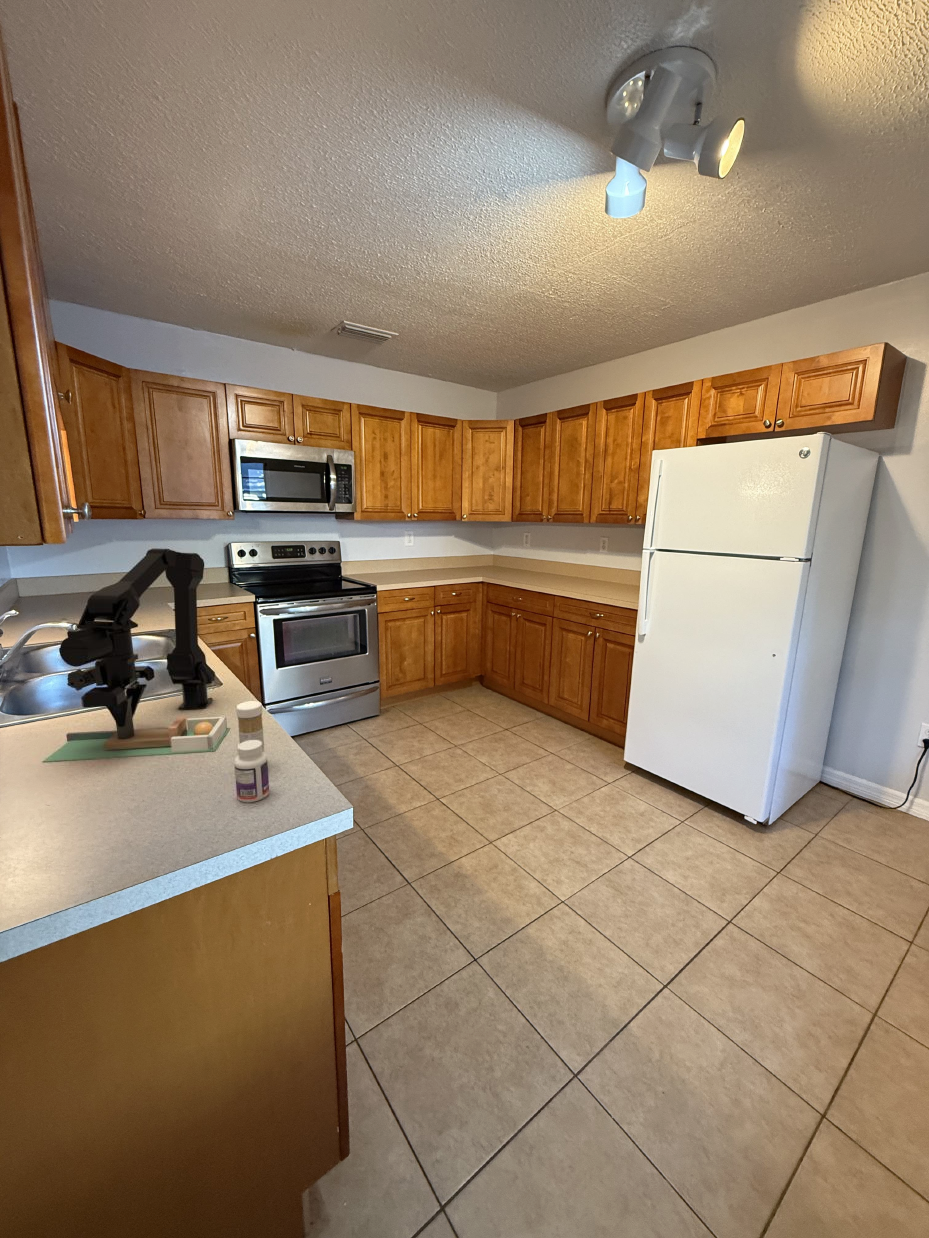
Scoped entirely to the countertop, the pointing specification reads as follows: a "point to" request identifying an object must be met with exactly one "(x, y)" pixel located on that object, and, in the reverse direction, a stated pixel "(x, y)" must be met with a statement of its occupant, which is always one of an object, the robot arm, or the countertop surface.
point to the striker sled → (144, 735)
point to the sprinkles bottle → (250, 722)
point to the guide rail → (96, 734)
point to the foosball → (203, 728)
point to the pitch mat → (96, 750)
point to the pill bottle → (251, 772)
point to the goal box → (200, 740)
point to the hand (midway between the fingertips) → (125, 723)
